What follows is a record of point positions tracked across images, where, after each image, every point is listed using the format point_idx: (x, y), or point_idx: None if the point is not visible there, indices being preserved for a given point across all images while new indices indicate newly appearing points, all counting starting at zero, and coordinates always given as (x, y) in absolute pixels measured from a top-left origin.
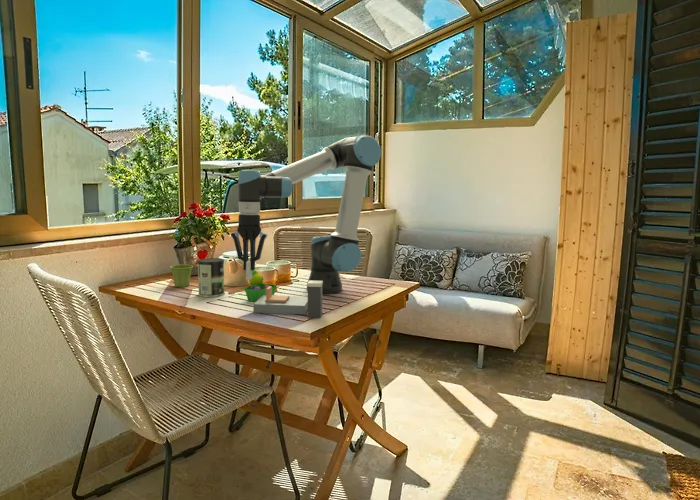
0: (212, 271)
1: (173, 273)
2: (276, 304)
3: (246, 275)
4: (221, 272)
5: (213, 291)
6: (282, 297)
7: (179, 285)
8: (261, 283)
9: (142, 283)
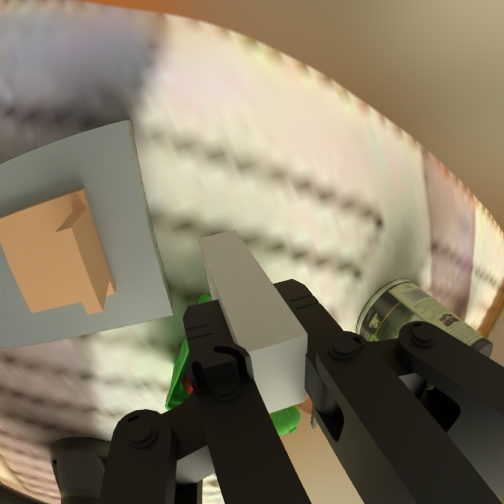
0: None
1: None
2: (15, 165)
3: (242, 246)
4: None
5: (390, 300)
6: (33, 270)
7: None
8: None
9: (489, 313)
